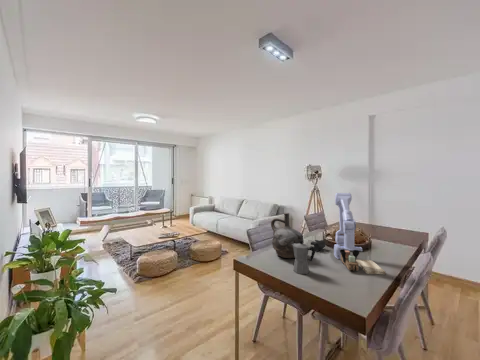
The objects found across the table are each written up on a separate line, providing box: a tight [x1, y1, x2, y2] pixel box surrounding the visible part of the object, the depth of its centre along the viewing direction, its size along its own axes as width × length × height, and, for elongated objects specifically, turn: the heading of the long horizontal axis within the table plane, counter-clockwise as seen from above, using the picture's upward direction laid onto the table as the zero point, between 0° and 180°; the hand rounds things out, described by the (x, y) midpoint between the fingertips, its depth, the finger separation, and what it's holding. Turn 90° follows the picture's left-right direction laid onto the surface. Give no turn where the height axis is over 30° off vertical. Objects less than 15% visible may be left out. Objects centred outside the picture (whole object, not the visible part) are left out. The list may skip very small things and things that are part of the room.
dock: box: [356, 258, 387, 275], centre depth 139 cm, size 10×18×2 cm, turn 173°
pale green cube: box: [348, 254, 355, 262], centre depth 135 cm, size 3×3×3 cm
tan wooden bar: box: [340, 255, 359, 271], centre depth 139 cm, size 16×5×4 cm, turn 173°
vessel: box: [270, 212, 305, 259], centre depth 159 cm, size 24×22×30 cm
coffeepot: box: [291, 240, 316, 275], centre depth 133 cm, size 15×9×18 cm, turn 43°
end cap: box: [310, 239, 326, 252], centre depth 171 cm, size 10×7×7 cm
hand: (349, 262), depth 139 cm, fingers closed on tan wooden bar, 5 cm apart
